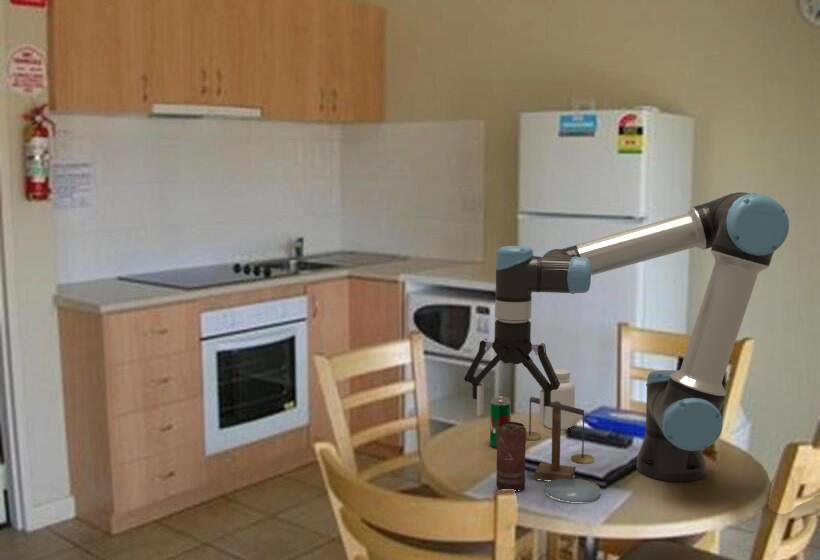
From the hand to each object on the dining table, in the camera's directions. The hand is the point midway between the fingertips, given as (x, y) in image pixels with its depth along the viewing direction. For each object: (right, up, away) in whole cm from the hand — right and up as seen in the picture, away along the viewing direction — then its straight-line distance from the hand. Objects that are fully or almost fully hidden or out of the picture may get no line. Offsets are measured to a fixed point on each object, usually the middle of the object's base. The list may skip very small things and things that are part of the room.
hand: (510, 417), depth 188 cm
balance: (+11, -15, +8) cm, 20 cm away
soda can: (+1, -12, +30) cm, 33 cm away
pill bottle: (+18, -10, +46) cm, 51 cm away
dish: (+13, -16, -1) cm, 21 cm away
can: (0, -16, +2) cm, 16 cm away
